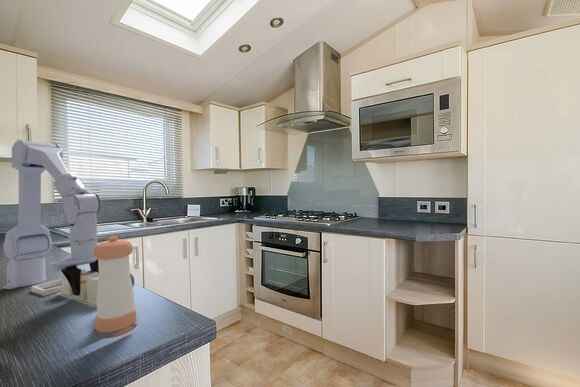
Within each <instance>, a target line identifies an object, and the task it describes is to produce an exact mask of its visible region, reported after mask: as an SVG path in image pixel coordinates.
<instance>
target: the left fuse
mask: <svg viewBox="0 0 580 387" xmlns="http://www.w3.org/2000/svg"><path fill="white" fill-rule="evenodd" d="M77 267H78V269H81V272H84V271H86V268H84V267H79V266H77ZM60 279H61V282H62V284H61V285H62V291H61V292H62V293H63V294H66V295H69V296H70V295H72V289H71V286H70V284H69V282H68V280H67V279H66V277H65V276H64V274H63V273H62V272H61V271H60Z"/></svg>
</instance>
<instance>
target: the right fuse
mask: <svg viewBox="0 0 580 387" xmlns="http://www.w3.org/2000/svg"><path fill="white" fill-rule="evenodd" d="M98 283H99V275H95V276H91V277H87V278H86V285H87V302H89V303H92V304H95V305H97V303H96V298H97V290H98Z"/></svg>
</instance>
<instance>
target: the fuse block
mask: <svg viewBox="0 0 580 387" xmlns="http://www.w3.org/2000/svg"><path fill="white" fill-rule="evenodd" d="M55 295H58V296H59V297H63V298H67V299H69V300H72V301H74V302H78V303H80V304H83V305H86V306H88V307H91V308H97V305H95V304H92V303H89V302H87V291H85V299H84V300H81V299H78V298H75V297H74V295H73V292H72V295H70V296H69V295H66V294H63V293H62V291H61V292H57V293H55Z"/></svg>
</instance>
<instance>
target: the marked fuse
mask: <svg viewBox="0 0 580 387" xmlns="http://www.w3.org/2000/svg"><path fill="white" fill-rule="evenodd" d="M95 275H98V272H96V271H92V270H91V269H88V270H85V271H84V272H81V275H80V295H78V296H76V295H74V297H75V298H78V299H81V300H84V299H85V291H87V285H86V278H87V277H91V276H95Z"/></svg>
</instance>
